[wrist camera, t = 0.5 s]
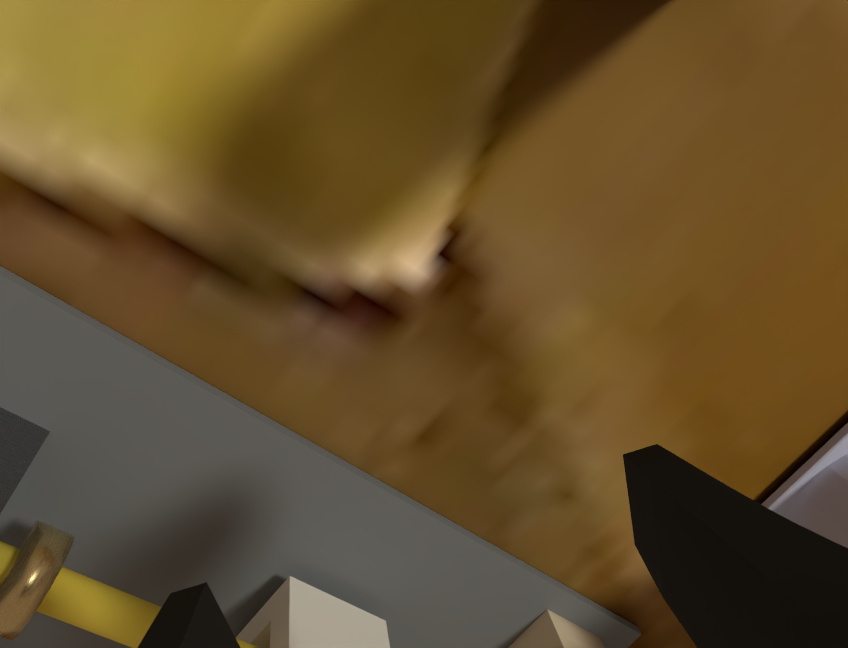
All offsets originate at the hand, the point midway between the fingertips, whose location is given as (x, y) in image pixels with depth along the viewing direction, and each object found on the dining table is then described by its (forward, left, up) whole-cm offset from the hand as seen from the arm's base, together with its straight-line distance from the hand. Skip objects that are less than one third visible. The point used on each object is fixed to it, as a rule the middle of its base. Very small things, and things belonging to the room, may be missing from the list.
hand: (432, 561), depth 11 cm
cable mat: (-3, +10, -10) cm, 14 cm away
